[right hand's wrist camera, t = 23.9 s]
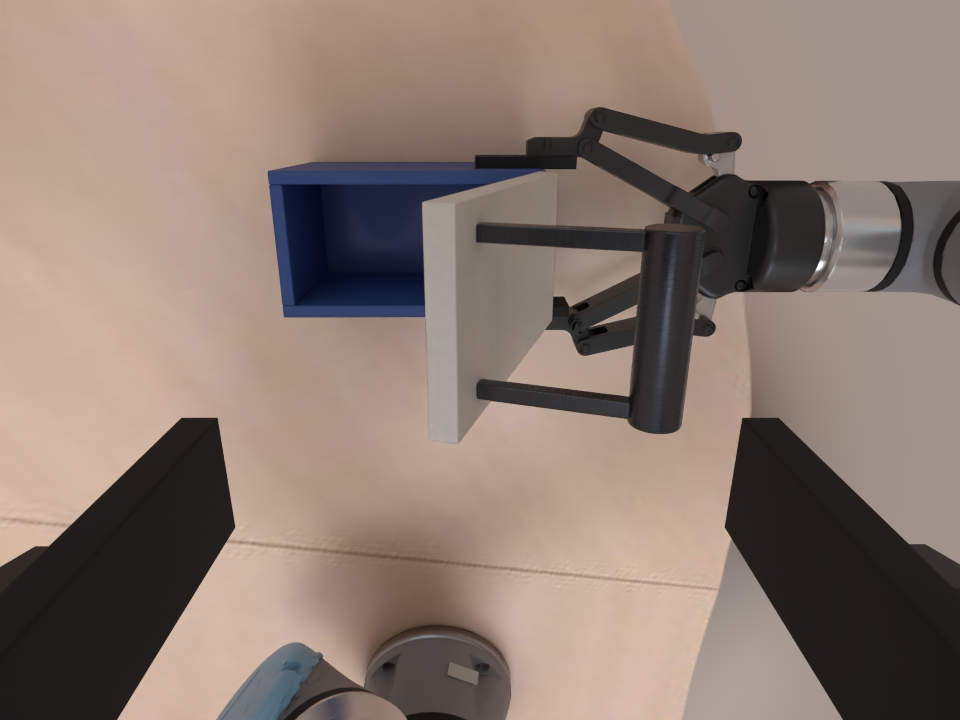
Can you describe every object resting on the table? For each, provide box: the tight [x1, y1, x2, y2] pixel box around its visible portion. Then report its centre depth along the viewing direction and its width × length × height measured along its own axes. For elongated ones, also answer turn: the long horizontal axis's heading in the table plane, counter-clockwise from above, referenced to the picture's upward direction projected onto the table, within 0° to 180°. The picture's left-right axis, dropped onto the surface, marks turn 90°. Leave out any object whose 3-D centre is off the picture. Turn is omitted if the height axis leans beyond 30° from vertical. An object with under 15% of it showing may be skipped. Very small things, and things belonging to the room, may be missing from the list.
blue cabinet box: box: [268, 162, 546, 317], centre depth 44 cm, size 17×9×11 cm, turn 90°
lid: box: [422, 171, 706, 444], centre depth 30 cm, size 18×9×9 cm
